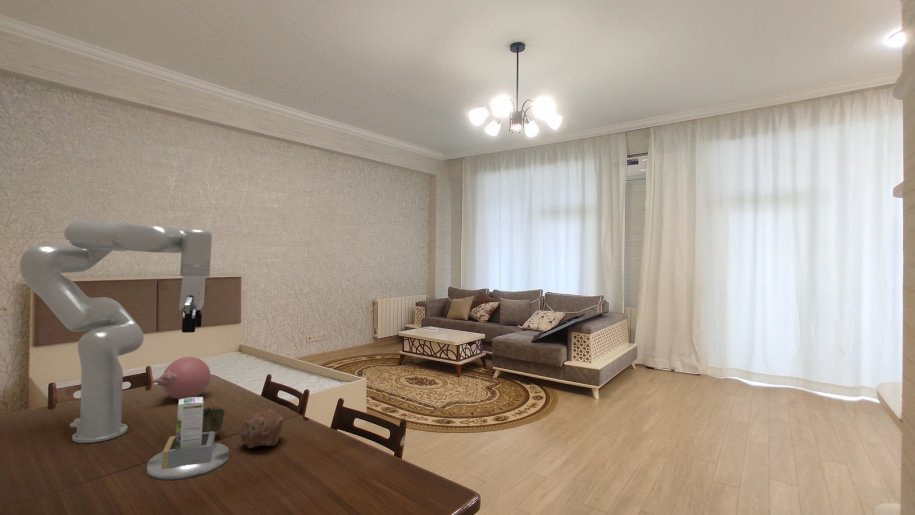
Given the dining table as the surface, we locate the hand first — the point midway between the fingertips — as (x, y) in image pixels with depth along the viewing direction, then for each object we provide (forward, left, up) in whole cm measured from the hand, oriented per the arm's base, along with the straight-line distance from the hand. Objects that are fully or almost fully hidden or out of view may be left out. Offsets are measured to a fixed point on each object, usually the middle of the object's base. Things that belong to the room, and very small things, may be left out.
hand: (191, 329), depth 129 cm
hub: (+11, -14, -32) cm, 36 cm away
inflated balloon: (-26, +30, -32) cm, 51 cm away
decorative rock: (+23, -1, -32) cm, 39 cm away
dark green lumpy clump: (+6, +1, -32) cm, 33 cm away
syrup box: (+11, -14, -30) cm, 35 cm away
